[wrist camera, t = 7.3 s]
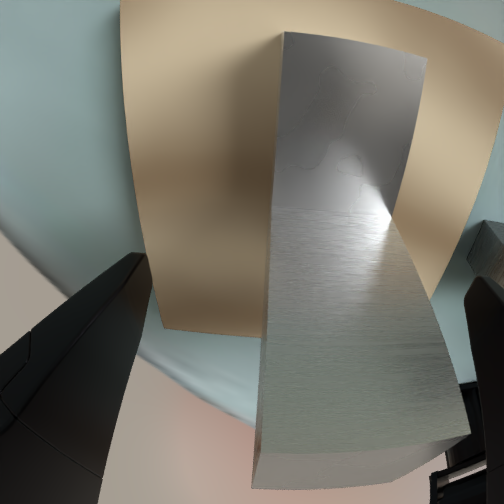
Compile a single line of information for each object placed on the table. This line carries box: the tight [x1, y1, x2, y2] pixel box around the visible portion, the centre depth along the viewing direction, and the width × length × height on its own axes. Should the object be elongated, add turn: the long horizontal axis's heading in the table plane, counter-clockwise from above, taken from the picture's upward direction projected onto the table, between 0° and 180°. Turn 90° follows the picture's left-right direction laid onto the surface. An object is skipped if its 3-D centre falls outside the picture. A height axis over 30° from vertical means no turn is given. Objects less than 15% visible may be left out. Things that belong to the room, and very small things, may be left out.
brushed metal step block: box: [251, 31, 471, 490], centre depth 6 cm, size 7×3×8 cm, turn 178°
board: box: [120, 0, 504, 338], centre depth 11 cm, size 14×12×1 cm
